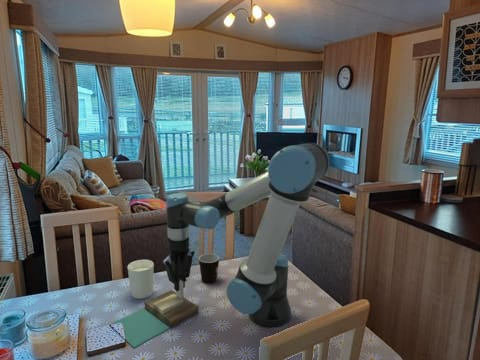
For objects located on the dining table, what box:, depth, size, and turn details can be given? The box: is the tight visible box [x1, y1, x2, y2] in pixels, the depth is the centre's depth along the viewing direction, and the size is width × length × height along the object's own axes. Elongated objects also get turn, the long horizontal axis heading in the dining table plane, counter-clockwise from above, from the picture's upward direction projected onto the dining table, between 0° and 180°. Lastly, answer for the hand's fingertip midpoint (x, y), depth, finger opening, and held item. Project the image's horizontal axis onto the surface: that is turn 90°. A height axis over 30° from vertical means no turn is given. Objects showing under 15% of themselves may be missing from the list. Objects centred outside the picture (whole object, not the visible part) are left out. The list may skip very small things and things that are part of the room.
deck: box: [143, 289, 199, 329], centre depth 122 cm, size 16×12×2 cm
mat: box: [108, 307, 171, 349], centre depth 113 cm, size 16×13×1 cm
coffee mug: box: [198, 253, 220, 285], centre depth 144 cm, size 12×9×10 cm
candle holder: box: [127, 259, 155, 300], centre depth 132 cm, size 10×10×12 cm
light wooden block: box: [153, 294, 184, 314], centre depth 121 cm, size 6×9×2 cm, turn 137°
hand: (179, 297), depth 124 cm, fingers closed
